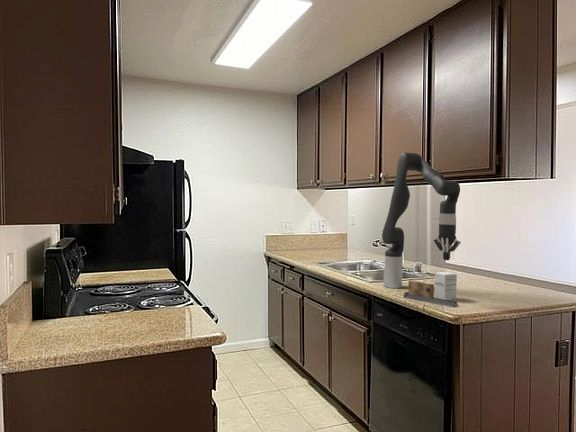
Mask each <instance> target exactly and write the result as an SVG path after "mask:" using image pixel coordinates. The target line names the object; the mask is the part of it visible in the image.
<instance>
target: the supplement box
mask: <svg viewBox="0 0 576 432" xmlns="http://www.w3.org/2000/svg"><path fill="white" fill-rule="evenodd" d="M457 277H458V276H457V273H452V272H447V271H438V272H434V298H438V299H444V300H449V301H456V300H457Z"/></svg>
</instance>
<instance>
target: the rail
mask: <svg viewBox="0 0 576 432" xmlns="http://www.w3.org/2000/svg"><path fill="white" fill-rule="evenodd" d="M403 298H405V299H410V300H416V301H420V302H425V303H431V304H436V305H442V306H445V307H450V308H454V307H458V305H459V304H458V302H457V301H456V300H444V299H438V298H435V297H434V299H432V298H426V297H421V296H415V295H410V294H409V290H408V291H405V292H403Z"/></svg>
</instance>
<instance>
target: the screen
mask: <svg viewBox="0 0 576 432" xmlns="http://www.w3.org/2000/svg"><path fill="white" fill-rule="evenodd" d="M408 291H409V294H410V295H415V296H421V297H426V298H432V299H434V298H435V283H434V284H433V283H427V282H421V281H417V280H416V281H415V280H408Z"/></svg>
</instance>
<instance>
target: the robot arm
mask: <svg viewBox="0 0 576 432" xmlns="http://www.w3.org/2000/svg"><path fill="white" fill-rule="evenodd" d="M396 167H397V168H396V176H395V180H394V181H395V182H394V187H393V191H392V194H391V199H390V204H389V208H388V212H387V216H386V220H385V222H384V227H383V229H382V234H381V239H382V242H383V243H384V244H385V245H391V247H390V248H388V249H386V250H385V252H384V253H385V254H384V256H385V257H384V269H383V287H386V288H387V289H388V288H389V289H390V288H391V289H401V288H402V287H403V253H404V247H405V232H404V230H403V229H402V228H401V227H398V226H396V225H397V223H398V220H399V219H400V218H401V217H402V216H403V214H404V213H405V212H406V210H407V209H408V206H409V202H410V197H411V193H410V189H409V187H408V183H407V174H408V171H416V172H419V173H421V175H422V179H423V180H424V181H425V182H426V183H427V184H429V185H430V186H432V188H433V190H435V192H436V194H438V195H440V196H444V197H445V196H446V199H445V200H443V201H442V200H441V202H440V203H439V216H438V237H437V238H436V239H434V240H433V242H434V244H435V245H436V247H437V249H438V250H439V251H441V252H442V258H443V259H442V260H444V261H449V260H450V259H451V252H455V250H456V249H457V248H458V247H459V245H461V243H462V241H459V240H458V239H457V236H456V233H457V214H456V213H457V212H456V211H457V202H458V199H459V197H460V193H461V186H460V183H459V182H458V181H456V180H446V177H445V176H444V175H443V174H442V173H440V172H439V171H437V170H436V169H435V168H433V166H431V165H430V164H429V163H428V162H427V161H426V160H425V159H424V158H423V157H422V155H420V154H419V153H417V152H402V153H401V154H400V155H399V156H398V160H397V166H396Z"/></svg>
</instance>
